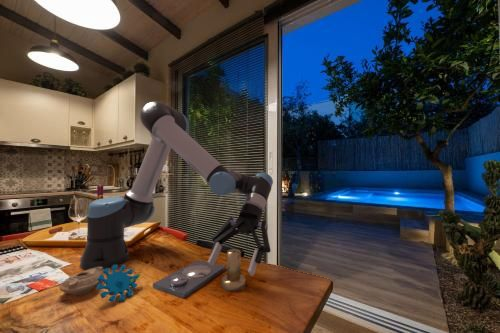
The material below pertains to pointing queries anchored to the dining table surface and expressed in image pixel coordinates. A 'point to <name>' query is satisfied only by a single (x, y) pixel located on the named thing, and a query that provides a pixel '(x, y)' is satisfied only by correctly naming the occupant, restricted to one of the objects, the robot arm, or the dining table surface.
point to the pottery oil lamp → (82, 281)
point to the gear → (117, 282)
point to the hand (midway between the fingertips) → (229, 268)
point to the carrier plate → (189, 278)
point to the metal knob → (233, 272)
